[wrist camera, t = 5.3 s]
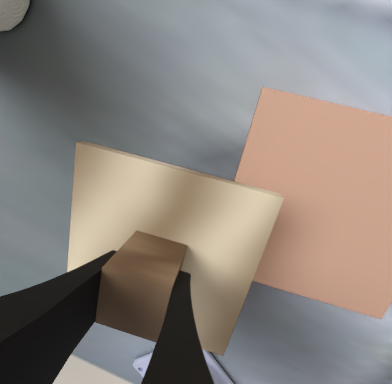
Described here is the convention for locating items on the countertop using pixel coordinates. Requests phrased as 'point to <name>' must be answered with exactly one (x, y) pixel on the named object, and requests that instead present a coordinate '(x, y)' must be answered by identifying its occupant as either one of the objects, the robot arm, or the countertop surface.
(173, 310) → the robot arm
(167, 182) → the lid
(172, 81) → the countertop surface
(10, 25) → the paper towel roll
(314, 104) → the mat
